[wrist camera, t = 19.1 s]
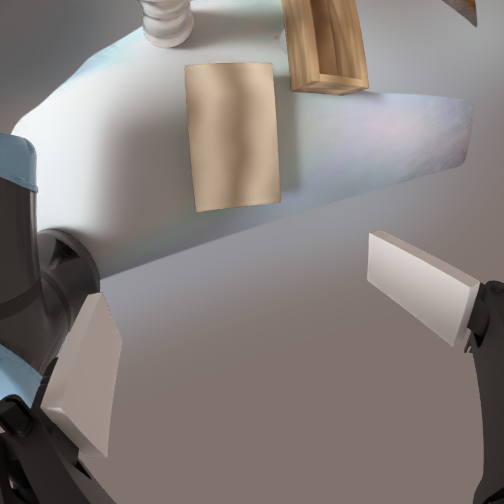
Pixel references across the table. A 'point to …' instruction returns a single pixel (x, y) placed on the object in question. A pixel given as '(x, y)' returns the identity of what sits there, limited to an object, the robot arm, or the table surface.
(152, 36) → the plastic bottle
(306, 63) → the toolbox
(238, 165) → the lid
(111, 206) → the table surface
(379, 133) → the table surface
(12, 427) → the robot arm
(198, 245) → the table surface
